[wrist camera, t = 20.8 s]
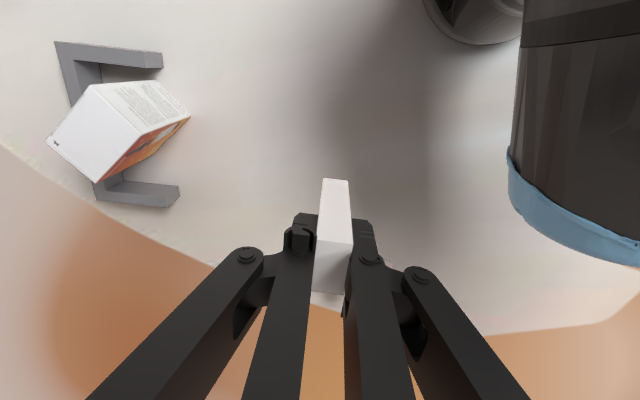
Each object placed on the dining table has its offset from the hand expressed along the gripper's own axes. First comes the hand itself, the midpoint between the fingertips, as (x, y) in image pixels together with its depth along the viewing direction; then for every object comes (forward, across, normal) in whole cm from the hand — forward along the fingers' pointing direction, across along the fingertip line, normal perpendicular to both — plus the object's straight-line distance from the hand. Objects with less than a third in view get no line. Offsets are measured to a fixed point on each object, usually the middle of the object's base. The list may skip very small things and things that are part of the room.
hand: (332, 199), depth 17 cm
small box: (+19, +22, +1) cm, 30 cm away
